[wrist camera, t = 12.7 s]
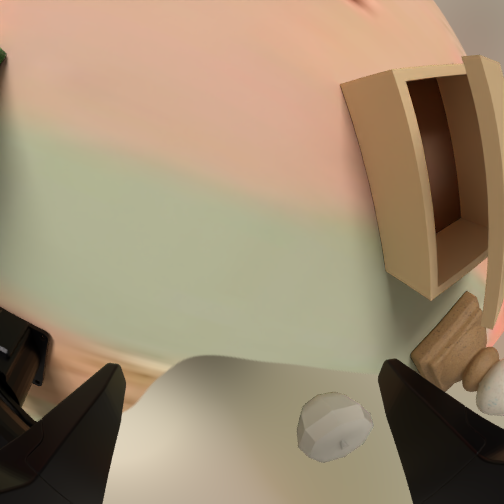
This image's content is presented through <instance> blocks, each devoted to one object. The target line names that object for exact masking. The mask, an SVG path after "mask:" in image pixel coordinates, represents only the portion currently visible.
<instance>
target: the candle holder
mask: <svg viewBox="0 0 504 504" xmlns="http://www.w3.org/2000/svg"><path fill="white" fill-rule="evenodd" d="M482 313H483V312H482V310H481V309H480V308H479V303H478V300H477V297H476V296H474V295H473V294H471V293H469V292H468V291H466V292H465V293H464V294H463V295H462V296H461V298H460V299H459V300H458V301H457V302H456V304H455V305H454V306H453V307H452V308H451V310H450V311H449V312H448V313H447V314H446V315H445V317H444V318H443V319H442V320H441V321H440V322H439V323H438V325H437V326H436V327H435V328H434V329H433V330H432V331H431V332H430V333H429V334H428V335H427V337H426V338H425V339H424V340H423V341H422V342H421V343H420V344H419V345H418V346H417V347H416V348H415V349H414V350H413V352H412V353H411V358H412V360H413V362H414V364H415V366H416V367H417V369H418V371H419V373H420V374H421V376H422V377H424V378H425V379H427V380H428V381H429V382H431V383H432V384H434V385H435V386H437V387H438V388H440V389H441V390H443V391H444V392H446V391H447V390H448V389H449V388H450V387H451V386H452V385H453V384H454V383H456V382H459V381H461V380H462V384H463V387H464V389H465V390H466V391H469V392H474V391H477V395H476V405H477V407H478V409H479V410H480V411H481V412H483V413H485V414H488V415H497V416H504V359H502V360H499V354H498V352H497V350H496V349H495V348H493V347H487V348H486V344H487V336H486V328H485V327H482V326H481V320H482Z"/></svg>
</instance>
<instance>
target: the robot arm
mask: <svg viewBox="0 0 504 504" xmlns="http://www.w3.org/2000/svg"><path fill="white" fill-rule="evenodd" d="M42 336H44V337H45V338H43V337H42ZM49 339H50V336H49V334H48V333H47V332H46V331H44V330H42V329H40V328H38V327H36V326H34V325H32V324H30V323H29V322H27V321H25V320H23V319H21V318H19V317H17V316H15V315H14V314H12V313H10V312H8V311H7V310H5V309H3V308H1V307H0V504H102V503H103V498H104V493H105V488H106V483H107V478H108V473H109V469H110V465H111V460H112V456H113V452H114V448H115V443H116V440H117V436H118V432H119V427H120V423H121V416H122V409H123V402H124V395H125V389H126V381H125V378H124V375H123V372H122V369H121V366H120V365H119V364H114V363H108V364H106V365H105V366H104V367H102V368H101V369H100V370H99V371H98V372H96V373H95V374H94V375H93V376H92V377H90V378H89V379H88V380H87V381H86V382H85V383H83V384H82V385H81V386H80V387H79V388H77V389H76V390H75V391H74V392H73V393H71V394H70V395H69V396H68V397H67V398H65V399H64V400H63V401H62V402H61V403H59V404H58V405H57V406H56V407H55V408H53V409H52V410H51V411H50V412H49V413H48V414H46V415H45V416H44V417H43V418H42V420H41V419H40V420H39V421H38V422H37V421H34V420H33V419H32V418H31V417H30V416H29V415H28V414H27V413H26V412H25V411H24V410H23V409H22V406H23V403H24V401H25V398H26V396H27V393H28V391H29V389H30V386H31V384H32V383H33V384H35V385H37V386H42V383H43V380H44V372H45V364H46V357H47V351H48V345H49ZM378 383H379V387H380V391H381V395H382V400H383V404H384V409H385V413H386V417H387V420H388V423H389V426H390V429H391V432H392V435H393V438H394V441H395V444H396V447H397V450H398V454H399V457H400V460H401V463H402V466H403V470H404V473H405V476H406V480H407V483H408V487H409V490H410V493H411V497H412V501H413V504H504V429H502V428H500V427H499V426H497V425H495V424H493V423H491V422H490V421H488V420H486V419H484V418H482V417H481V416H480V415H478V414H476V413H475V412H473V411H472V410H470V409H469V408H467V407H465V406H464V405H463V404H461V403H460V402H459V401H457V400H456V399H454V398H453V397H451V396H450V395H448V394H447V393H445V392H444V391H443V390H441V389H440V388H438V387H437V386H435V385H434V384H432V383H431V382H429V381H428V380H427V379H425V378H424V377H422V376H421V375H419V374H418V373H416V372H415V371H413V370H412V369H411V368H409V367H408V366H406V365H405V364H403V363H402V362H400V361H399V360H397V359H388V360H385V361H384V363H383V366H382V368H381V371H380V373H379V376H378Z"/></svg>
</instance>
